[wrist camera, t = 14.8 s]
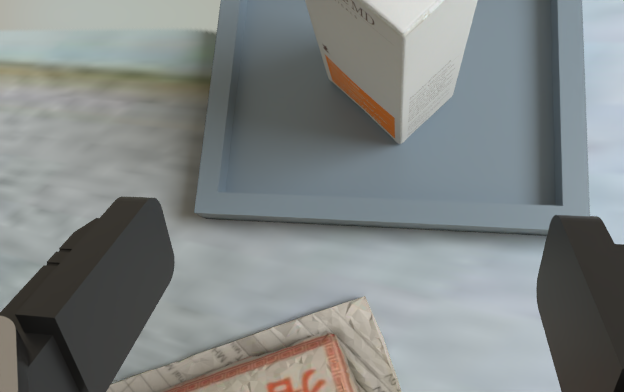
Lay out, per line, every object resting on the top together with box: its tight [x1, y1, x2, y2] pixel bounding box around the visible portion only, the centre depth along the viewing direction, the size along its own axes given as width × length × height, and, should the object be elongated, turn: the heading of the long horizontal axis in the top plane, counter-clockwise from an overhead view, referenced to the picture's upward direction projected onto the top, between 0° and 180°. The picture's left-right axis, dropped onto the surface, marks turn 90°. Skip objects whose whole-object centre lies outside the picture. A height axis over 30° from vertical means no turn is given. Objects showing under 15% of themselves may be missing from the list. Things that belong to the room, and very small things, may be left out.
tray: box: [194, 0, 590, 235], centre depth 29 cm, size 20×16×2 cm
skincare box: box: [305, 0, 478, 144], centre depth 23 cm, size 6×4×12 cm
